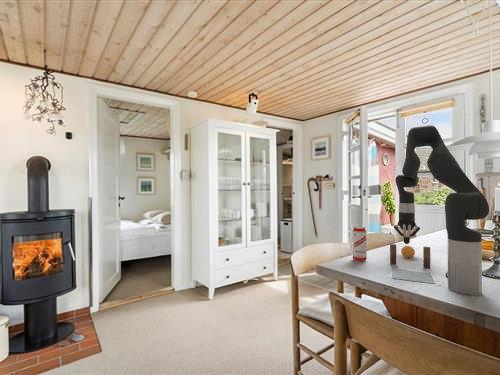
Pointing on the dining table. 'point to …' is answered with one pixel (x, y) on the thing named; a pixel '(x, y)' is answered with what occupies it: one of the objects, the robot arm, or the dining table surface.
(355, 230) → the beer can
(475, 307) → the dining table surface
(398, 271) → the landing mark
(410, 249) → the ball
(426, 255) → the right post
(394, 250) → the left post
